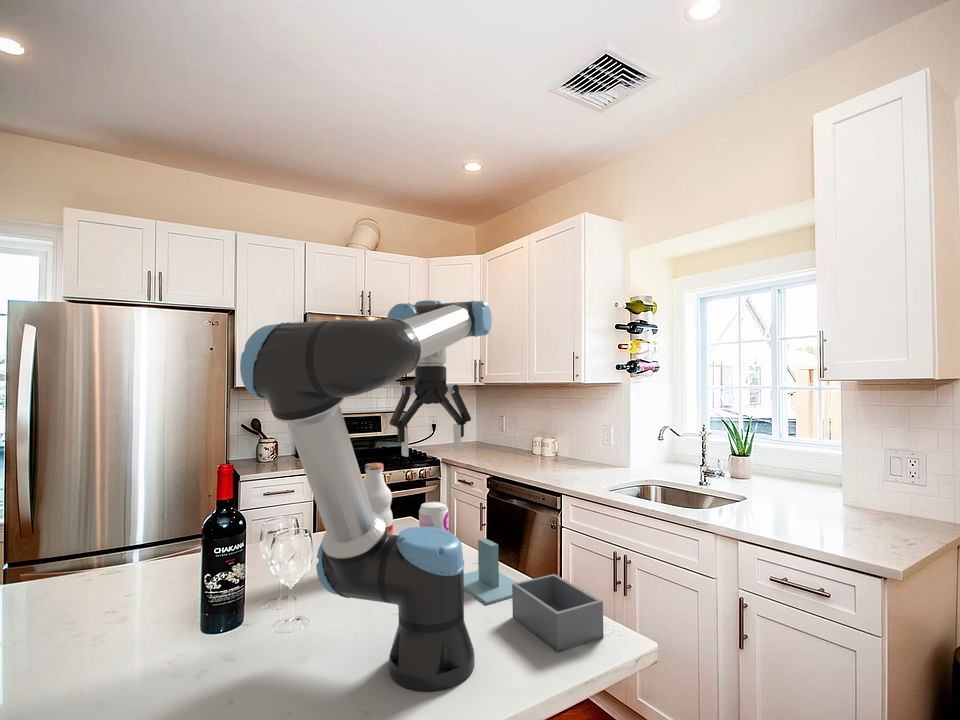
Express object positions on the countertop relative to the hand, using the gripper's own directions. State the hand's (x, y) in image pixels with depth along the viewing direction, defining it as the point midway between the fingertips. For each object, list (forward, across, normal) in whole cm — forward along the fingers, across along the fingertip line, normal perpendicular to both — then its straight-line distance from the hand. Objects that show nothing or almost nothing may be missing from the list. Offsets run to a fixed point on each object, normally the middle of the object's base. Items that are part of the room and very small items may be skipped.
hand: (431, 453), depth 126 cm
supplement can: (+33, +8, +20) cm, 39 cm away
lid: (+33, +13, -4) cm, 36 cm away
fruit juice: (+33, -8, +20) cm, 39 cm away
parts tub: (+33, +15, -29) cm, 46 cm away
